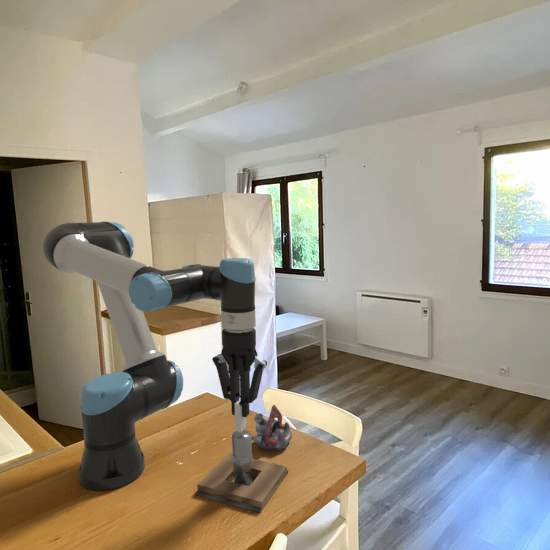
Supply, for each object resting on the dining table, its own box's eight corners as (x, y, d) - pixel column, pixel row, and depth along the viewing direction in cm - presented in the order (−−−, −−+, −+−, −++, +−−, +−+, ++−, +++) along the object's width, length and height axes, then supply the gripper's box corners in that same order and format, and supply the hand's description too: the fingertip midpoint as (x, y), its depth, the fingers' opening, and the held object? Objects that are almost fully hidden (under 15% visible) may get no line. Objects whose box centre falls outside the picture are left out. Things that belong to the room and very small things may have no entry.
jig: (195, 494, 97) (195, 486, 97) (230, 458, 111) (230, 451, 111) (260, 513, 90) (260, 504, 90) (288, 472, 104) (288, 464, 104)
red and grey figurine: (290, 449, 110) (263, 410, 112) (259, 467, 114) (233, 429, 116) (304, 429, 121) (279, 393, 122) (275, 446, 125) (251, 411, 126)
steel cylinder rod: (230, 486, 99) (228, 437, 98) (239, 476, 103) (237, 428, 102) (247, 491, 98) (245, 441, 96) (255, 480, 102) (254, 432, 100)
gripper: (204, 329, 95) (207, 430, 98) (257, 335, 90) (259, 442, 93) (221, 321, 102) (224, 416, 105) (272, 327, 97) (273, 426, 100)
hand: (240, 428), depth 99 cm, fingers closed
